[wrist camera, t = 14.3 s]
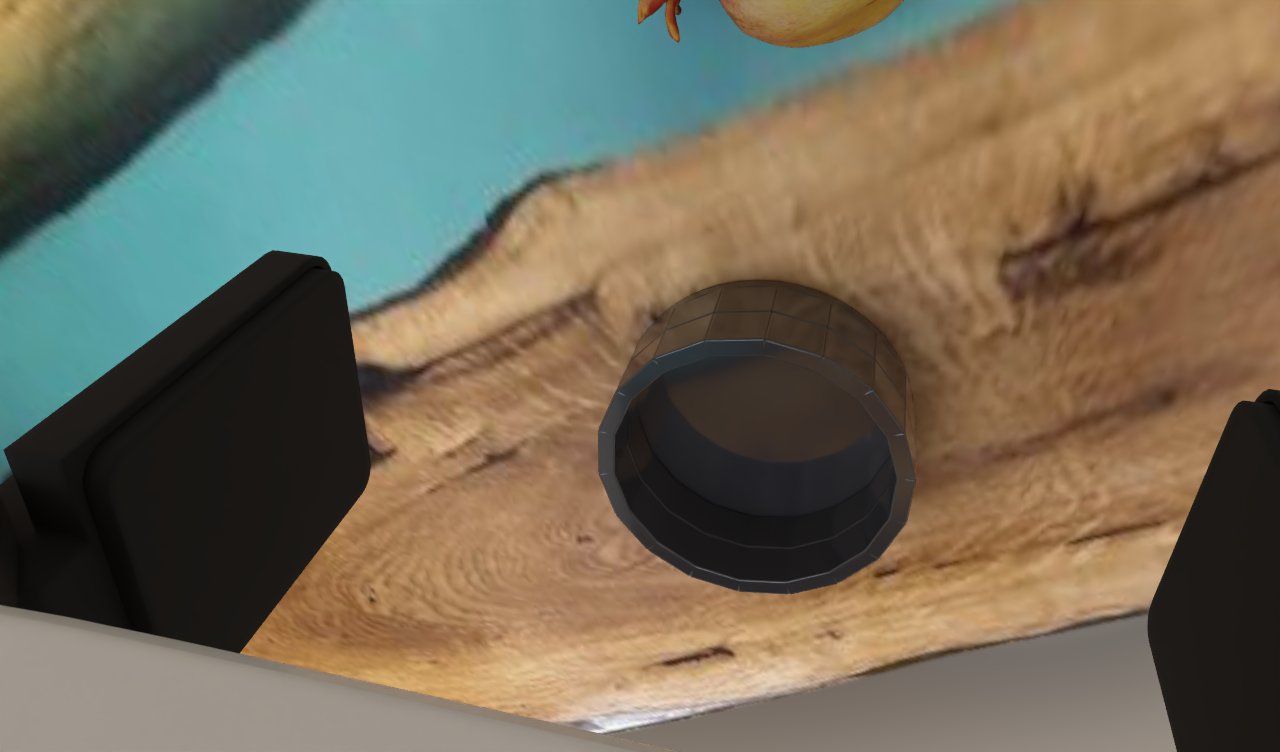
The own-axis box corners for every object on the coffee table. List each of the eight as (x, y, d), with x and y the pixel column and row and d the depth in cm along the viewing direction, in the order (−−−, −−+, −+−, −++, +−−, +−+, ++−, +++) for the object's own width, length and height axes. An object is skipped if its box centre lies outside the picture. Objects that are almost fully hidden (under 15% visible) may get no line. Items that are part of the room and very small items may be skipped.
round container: (939, 298, 31) (942, 362, 28) (888, 541, 37) (886, 619, 34) (628, 260, 33) (597, 316, 30) (624, 497, 39) (598, 566, 36)
